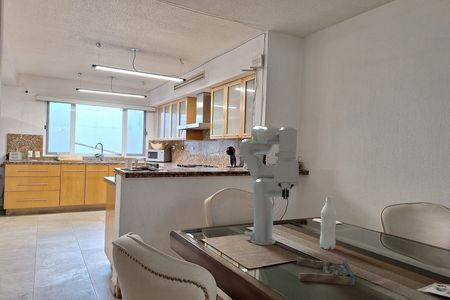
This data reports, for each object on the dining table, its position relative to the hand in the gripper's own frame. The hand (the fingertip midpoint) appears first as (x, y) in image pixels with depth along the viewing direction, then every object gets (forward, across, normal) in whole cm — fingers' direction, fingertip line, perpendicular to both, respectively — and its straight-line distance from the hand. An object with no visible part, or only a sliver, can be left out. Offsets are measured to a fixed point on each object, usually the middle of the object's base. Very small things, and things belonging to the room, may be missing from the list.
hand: (285, 198), depth 130 cm
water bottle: (+25, +21, +20) cm, 38 cm away
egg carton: (+26, +19, -14) cm, 35 cm away
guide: (+25, +15, -14) cm, 32 cm away
